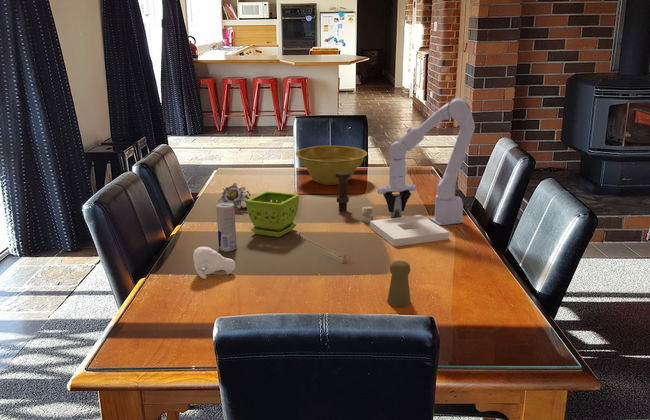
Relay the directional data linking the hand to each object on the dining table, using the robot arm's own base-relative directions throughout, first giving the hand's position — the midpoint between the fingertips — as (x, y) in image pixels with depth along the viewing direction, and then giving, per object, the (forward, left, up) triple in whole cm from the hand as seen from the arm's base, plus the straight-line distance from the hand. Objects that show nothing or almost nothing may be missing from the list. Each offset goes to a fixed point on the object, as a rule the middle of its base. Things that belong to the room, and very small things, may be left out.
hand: (396, 211), depth 220 cm
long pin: (0, 0, -3) cm, 3 cm away
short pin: (+11, -1, -3) cm, 11 cm away
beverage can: (+64, +10, -3) cm, 65 cm away
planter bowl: (+4, -60, -3) cm, 60 cm away
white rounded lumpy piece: (+71, +29, -3) cm, 77 cm away
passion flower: (+53, -34, -3) cm, 63 cm away
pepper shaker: (+29, +63, -3) cm, 69 cm away
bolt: (+15, -16, -3) cm, 22 cm away
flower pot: (+46, -1, -3) cm, 46 cm away
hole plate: (+3, +16, -3) cm, 17 cm away
